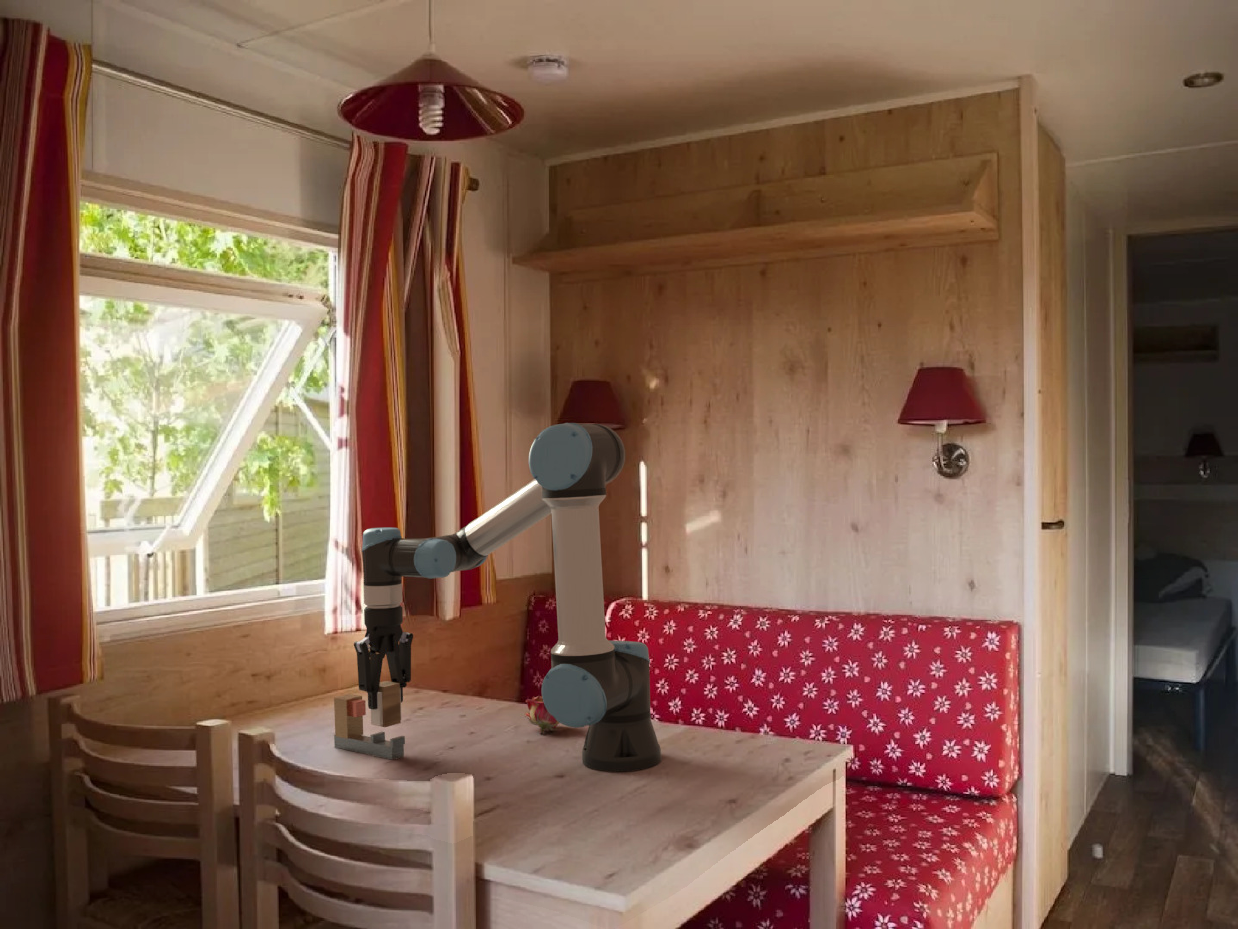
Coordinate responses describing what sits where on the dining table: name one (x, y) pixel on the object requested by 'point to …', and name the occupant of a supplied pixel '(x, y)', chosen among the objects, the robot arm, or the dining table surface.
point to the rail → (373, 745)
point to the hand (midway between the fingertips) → (386, 722)
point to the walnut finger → (390, 703)
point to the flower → (540, 714)
